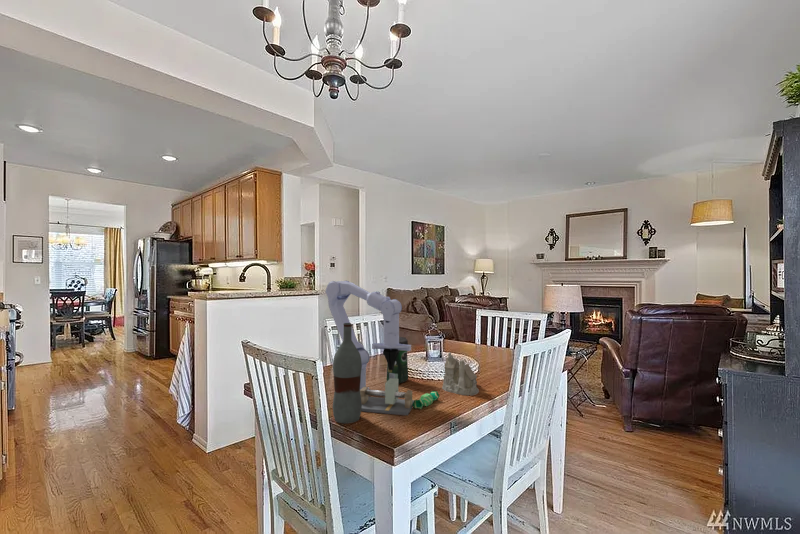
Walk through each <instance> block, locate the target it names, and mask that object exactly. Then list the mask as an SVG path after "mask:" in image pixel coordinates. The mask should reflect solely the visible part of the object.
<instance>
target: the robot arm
mask: <svg viewBox="0 0 800 534" xmlns="http://www.w3.org/2000/svg"><path fill="white" fill-rule="evenodd" d="M325 294H326V296H327V301H328V302H327V303H328V305H327V306H328V308H329V312H330V313H331V316H332V319H333V321H334V323H335V326H336V329H337V331H338V334H339V336H340V339H341V341H342V342H343V333H344V325H343V324H344V323H351V322H350V319H349V317H348V314H347V312H346V309H345V308H344V307H345V306H344V305H345V302H347V300H348V299H349V297H350V296H351V295H352V296H354V297H358V298H359V299H362V300H364V301H366V303H367V306H370V307H372V308H373V309H376V310H377V311H379V312H381V315H382V319H383V342H380V343H379V342H373V343H372V344H371V350H383V351H382V355H383V356H384V357H385V360H386V364H388V368H389V370H393V369H394V365H395V361H396V358H397V355H398V353H399V351H400V350H405V351H407V352H410V351H411V350H412V344H408V345H406V344H399V337H400V313H401V312H402V309H403V306H402V303H401V302H400V300H398V299H394V298H393V299H391V297H390V296H385V295H383V294H381V292H380V291H378V290H377V291H372V292H370V291H368V290H366V289H364V287H363V288H362V287H361V286H359V285H357V284H355V283H354V282H351V281H349V280H337V281H336V280H330V281H329V282H328V284H327V285H326V289H325ZM351 336H352V342H353V343H354V345H355V347H356V348H357V350H358V351H359V353H360V356H361V362H362V369H361V381H360V390H361V389H362V388H363V387H368V390H370V387H369V386H367V366H368V365H367V364H369V361H370V358H371V357H370V353H369V352H368V350H367V349H366V348H365V347H364V344H362V343H361V342H359V341H358V339H357V336H356V334H355V331H354V329H353V327H352V325H351Z"/></svg>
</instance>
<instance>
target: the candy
mask: <svg viewBox="0 0 800 534" xmlns="http://www.w3.org/2000/svg"><path fill="white" fill-rule="evenodd" d="M439 399H440V394H439V392H438V390H436V391H435V390H432V391H431V392H430V393H428V392H426V393H424V394H422V395H420V398H419V399H413V400H414V402H413V404H412V405H413V409H414V408H415V409H419V410H422V409H423V407H425V406H426V407H428V406H430V405H432V404H433V402H434V401H438V400H439Z"/></svg>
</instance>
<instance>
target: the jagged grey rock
mask: <svg viewBox="0 0 800 534" xmlns="http://www.w3.org/2000/svg"><path fill="white" fill-rule="evenodd" d="M447 354H448V356H447V357H445V363H444V366H443V367H444V375H443V381H442V387H441V389H442V390H444V391H445V392H448V393H453V394H456V395H460V396H466V395H467V396H468V397H469V395H470V396H475V395H477V394H479V392H480V390H479V388H478V387H477V385H478V381H477V379H478V377H477V375H476V373H475V372H474V371H473V369H472V367H471V365H469V363H466V361H465V360H463V359H461V360H460V361H459V360H458V359H457V358H454V355H452V352H448V353H447ZM467 396H466V397H467Z"/></svg>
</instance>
